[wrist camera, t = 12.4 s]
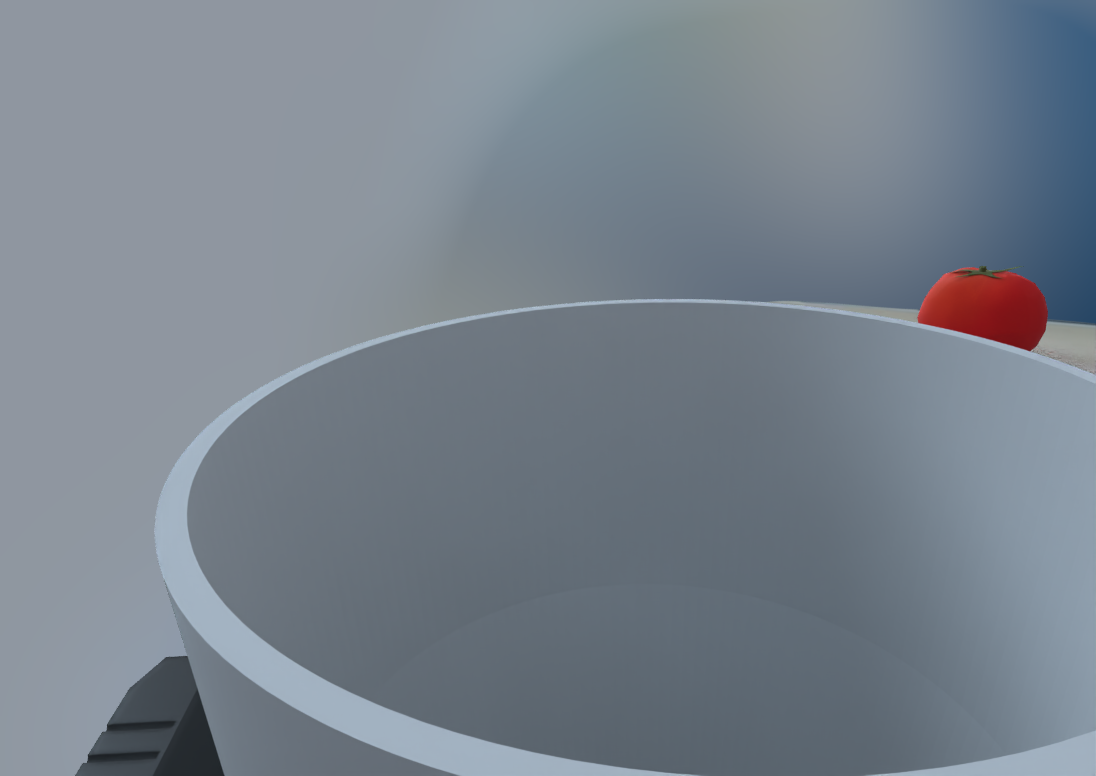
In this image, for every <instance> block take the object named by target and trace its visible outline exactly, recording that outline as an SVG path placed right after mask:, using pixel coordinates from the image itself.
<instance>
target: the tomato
mask: <svg viewBox="0 0 1096 776" xmlns="http://www.w3.org/2000/svg"><path fill="white" fill-rule="evenodd" d="M1015 268H1018V267H1015ZM1015 268H1010V269H1006V270H992V271H989V270H987V269H986V266H980V267H979V269H978V268H974V267H972V268H961V269H958V270H956V271H953V272H950V273H947V274H944V275H943V276H942V277H941V279H939V281H938V282H937V283H936V284H935V285H934V286H933V287H932V288H931V289H930V291H929V293H928V294H927V296H926V297H925V299H924V301H923V304H922V307H921V309H920V312H919V315H918V323H920V324H925V325H930V326H934V327H939V328H944V329H948V330H953V331H957V332H961V333H965V334H969V335H973V336H977V337H981V338H985V339H989V340H992V341H996V342H1000V343H1003V344H1007V345H1010V346H1014V347H1017V348H1020V349H1024V350H1027V351H1031V350H1032V349H1033V348H1035V347H1036V346H1037V344H1038V343H1039V341H1040V339H1041V337H1042V336H1043V334H1044V332H1045V330H1046V323H1047V317H1048V311H1047V306H1046V301H1045V297H1044V296H1043V294H1042V293H1041V292H1040V290H1039V289H1038V287H1037V286H1036V284H1035V283H1033V282H1031V281H1029V280H1028V279H1026V278H1024V277H1022V276H1019V275H1017V274H1016V273H1011V272H1007V271H1008V270H1011V269H1015Z"/></svg>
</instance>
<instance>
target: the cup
mask: <svg viewBox="0 0 1096 776" xmlns="http://www.w3.org/2000/svg"><path fill="white" fill-rule="evenodd" d="M155 545H156V552H157V557H158V562H159V565H160V568H161V572H162V575H163V578H164V582H165V585H166V588H167V591H168V595H169V598H170V601H171V604H172V607H173V611H174V614H175V617H176V620H177V624H178V627H179V630H180V633H181V637H182V640H183V643H184V646H185V649H186V653H187V656H188V659H189V662H190V666H191V669H192V672H193V675H194V679H195V682H196V685H197V688H198V691H199V695H200V698H201V701H202V704H203V708H204V711H205V714H206V717H207V721H208V724H209V727H210V730H211V733H212V737H213V740H214V743H215V746H216V750H217V753H218V756H219V759H220V762H221V766H222V769H223V772H224V775H225V776H1096V375H1095V374H1092V373H1090V372H1087V371H1084V370H1082V369H1079V368H1077V367H1074V366H1071V365H1068V364H1066V363H1063V362H1060V361H1057V360H1054V359H1051V358H1048V357H1046V356H1043V355H1039V354H1036V353H1033V352H1030V351H1027V350H1024V349H1020V348H1017V347H1014V346H1010V345H1007V344H1003V343H1000V342H996V341H992V340H989V339H985V338H981V337H977V336H973V335H969V334H965V333H961V332H957V331H953V330H948V329H944V328H939V327H934V326H930V325H925V324H920V323H915V322H910V321H905V320H899V319H893V318H888V317H882V316H876V315H869V314H863V313H856V312H849V311H842V310H834V309H826V308H817V307H808V306H799V305H788V304H777V303H763V302H748V301H728V300H699V299H643V300H614V301H598V302H597V301H595V302H581V303H568V304H557V305H547V306H539V307H529V308H521V309H513V310H506V311H499V312H493V313H486V314H481V315H475V316H469V317H464V318H458V319H453V320H448V321H444V322H439V323H434V324H430V325H425V326H422V327H417V328H413V329H410V330H405V331H402V332H398V333H394V334H391V335H387V336H383V337H380V338H377V339H373V340H370V341H367V342H364V343H361V344H358V345H355V346H352V347H349V348H346V349H343V350H341V351H338V352H335V353H333V354H330V355H328V356H325V357H322V358H320V359H317V360H315V361H313V362H310V363H308V364H306V365H303V366H301V367H299V368H297V369H295V370H293V371H291V372H289V373H287V374H285V375H283V376H281V377H279V378H277V379H275V380H273V381H271V382H270V383H267V384H266V385H264V386H262V387H261V388H259V389H257V390H255V391H254V392H252V393H251V394H249V395H248V396H246V397H245V398H243V399H241V400H240V401H239V402H237V403H236V404H234V405H233V406H232V407H230V408H229V409H228V410H226V411H225V412H224V413H222V414H221V415H220V416H219V417H217V418H216V419H215V420H214V421H213V422H212V423H211V424H209V425H208V426H207V427H206V428H205V429H204V430H203V431H202V432H201V433H200V434H199V435H198V436H197V437H196V438H195V439H194V440H193V442H192V443H191V444H190V445H189V446H188V448H187V449H186V450H185V451H184V453H183V454H182V455H181V457H180V458H179V460H178V461H177V462H176V464H175V466H174V467H173V469H172V471H171V473H170V474H169V476H168V478H167V480H166V482H165V485H164V488H163V490H162V493H161V495H160V499H159V503H158V507H157V512H156V519H155Z"/></svg>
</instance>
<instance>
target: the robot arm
mask: <svg viewBox="0 0 1096 776" xmlns="http://www.w3.org/2000/svg"><path fill="white" fill-rule="evenodd" d="M75 776H225V775H224V772H223V769H222V766H221V762H220V759H219V756H218V753H217V750H216V746H215V743H214V740H213V737H212V733H211V730H210V727H209V724H208V721H207V717H206V714H205V711H204V708H203V704H202V701H201V698H200V695H199V691H198V688H197V685H196V682H195V679H194V675H193V672H192V669H191V666H190V662H189V659H188V656H179V657H166V658H165V659H164V660H162V661H161V662H160V663H159V664H158V665H156V666H155V667H154V668H153V669H152V670H151V671H149V672H148V673H147V674H146V675H145V676H144V677H143V678H141V679H140V680H139V681H138V682H137V683H135V684H134V685H133V686H132V687H131V688H130V689H129V690H128V692H127V693H126V695H125V697H124V698H123V700H122V702H121V703H120V705H119V706H118V708H117V709H116V711H115V713H114V714H113V716H112V717H111V719H110V721H109V722H108V724H107V731H106V732H102V733H101V735H100V737H99V738H98V740H97V741H96V743H95V745H94V747H93V748H92V749H91V751H90V753H89V754H88V761H87V763H83V764H82V765H81V767H80V769H79V770H78V772H77V774H76V775H75Z"/></svg>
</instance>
